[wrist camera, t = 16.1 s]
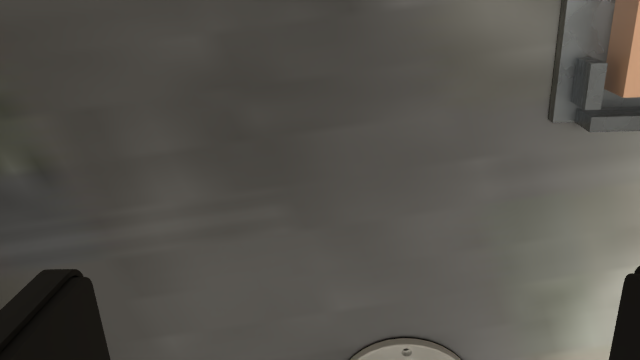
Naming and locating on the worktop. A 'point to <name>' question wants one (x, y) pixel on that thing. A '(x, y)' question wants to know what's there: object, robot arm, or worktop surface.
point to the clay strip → (624, 50)
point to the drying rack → (588, 71)
